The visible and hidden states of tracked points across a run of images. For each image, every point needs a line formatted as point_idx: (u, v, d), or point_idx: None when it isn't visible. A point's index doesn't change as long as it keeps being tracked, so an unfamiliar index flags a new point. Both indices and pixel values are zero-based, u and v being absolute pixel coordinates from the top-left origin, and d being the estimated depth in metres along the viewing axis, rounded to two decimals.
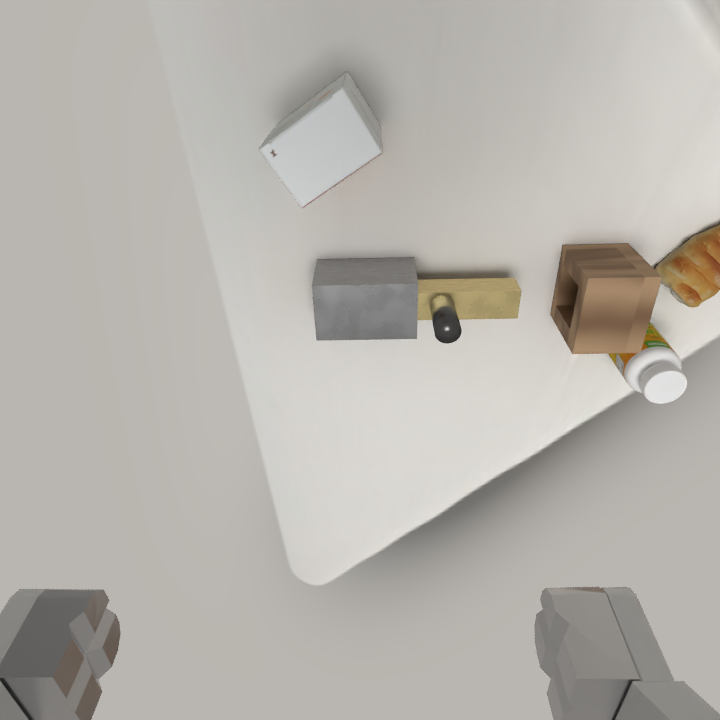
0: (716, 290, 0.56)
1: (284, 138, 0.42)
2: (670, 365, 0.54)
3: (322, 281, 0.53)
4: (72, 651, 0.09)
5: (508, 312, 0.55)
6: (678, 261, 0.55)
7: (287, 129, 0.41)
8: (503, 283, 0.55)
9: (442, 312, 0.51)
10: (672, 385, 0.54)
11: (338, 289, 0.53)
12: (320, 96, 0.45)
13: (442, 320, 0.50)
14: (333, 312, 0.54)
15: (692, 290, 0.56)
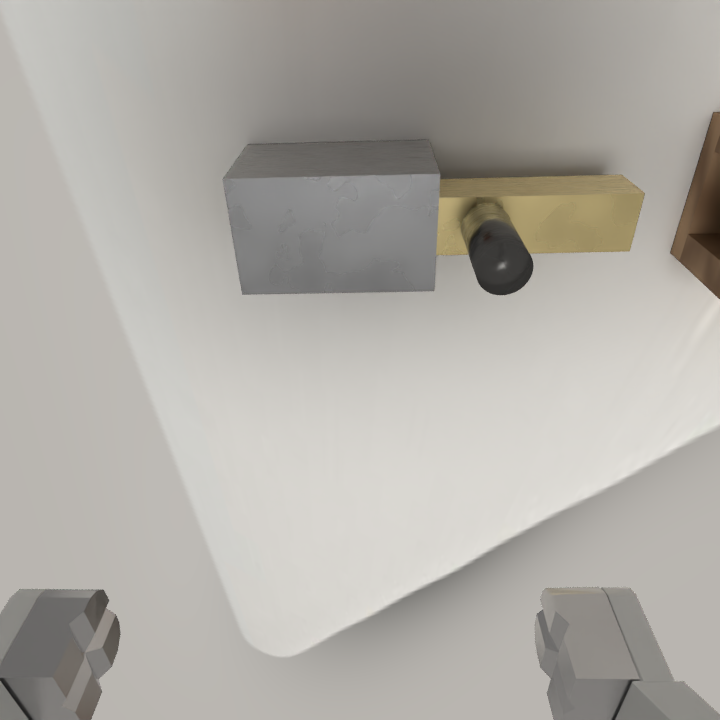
0: None
1: None
2: None
3: (245, 173, 0.26)
4: (72, 651, 0.09)
5: (613, 239, 0.28)
6: None
7: None
8: (604, 182, 0.28)
9: (491, 230, 0.25)
10: None
11: (277, 186, 0.26)
12: None
13: (494, 245, 0.23)
14: (270, 237, 0.27)
15: None
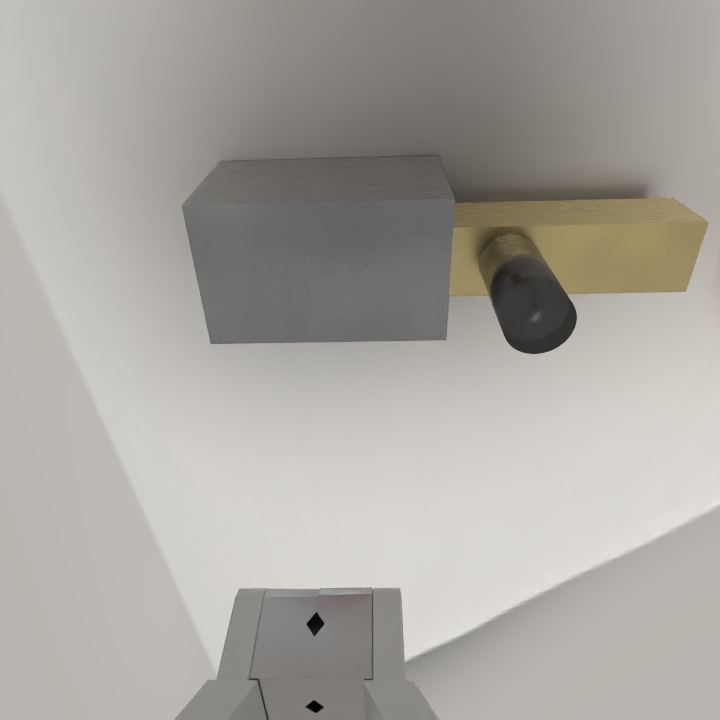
0: None
1: None
2: None
3: (211, 197, 0.21)
4: None
5: (666, 277, 0.23)
6: None
7: None
8: (654, 207, 0.23)
9: (521, 271, 0.19)
10: None
11: (250, 215, 0.21)
12: None
13: (528, 292, 0.18)
14: (243, 276, 0.22)
15: None
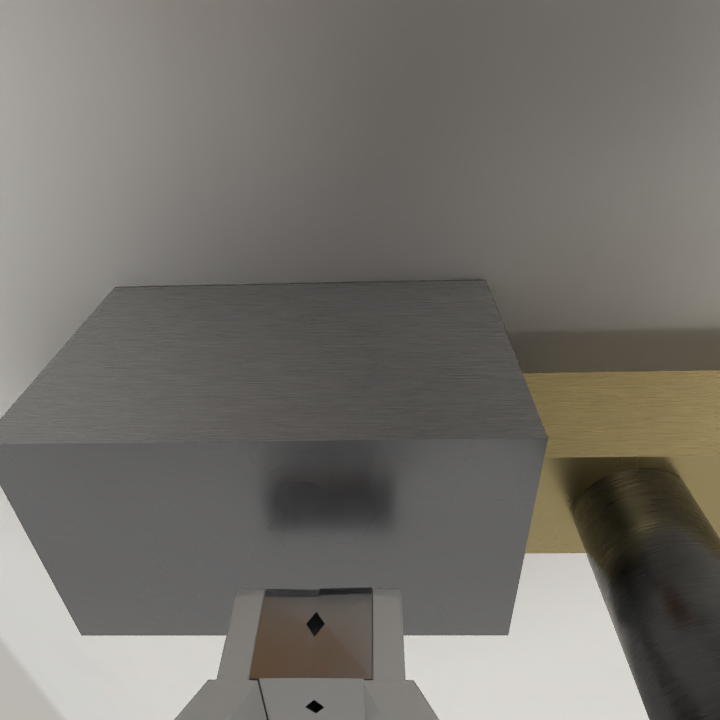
0: None
1: None
2: None
3: (50, 413, 0.11)
4: None
5: None
6: None
7: None
8: None
9: (706, 625, 0.09)
10: None
11: (122, 460, 0.10)
12: None
13: None
14: (125, 549, 0.11)
15: None
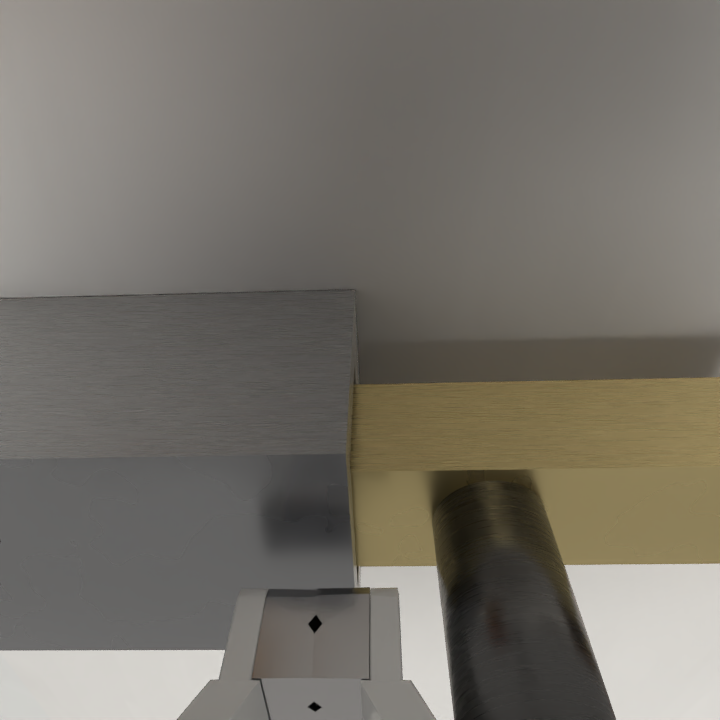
0: None
1: None
2: None
3: None
4: None
5: None
6: None
7: None
8: None
9: (509, 644, 0.09)
10: None
11: None
12: None
13: None
14: None
15: None
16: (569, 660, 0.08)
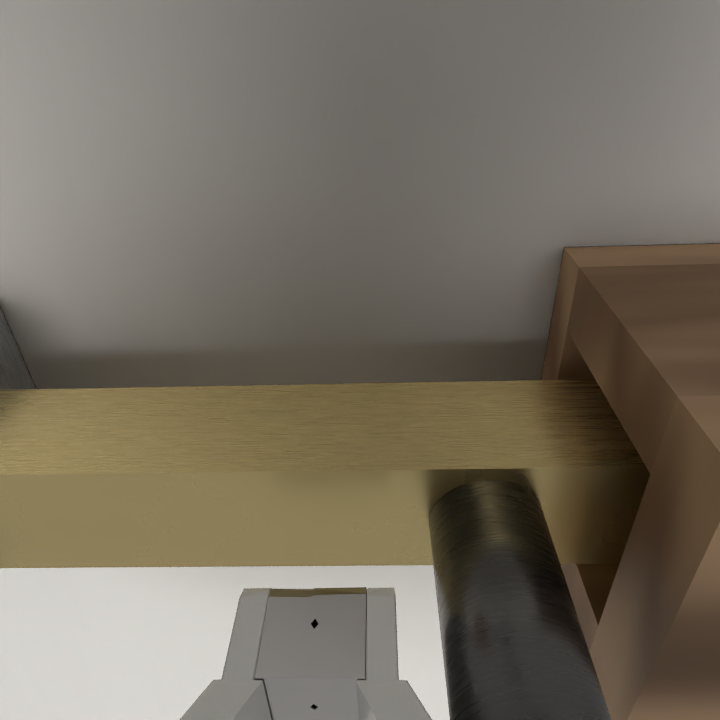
0: None
1: None
2: None
3: None
4: None
5: None
6: None
7: None
8: None
9: (504, 643, 0.09)
10: None
11: None
12: None
13: None
14: None
15: None
16: (564, 659, 0.08)
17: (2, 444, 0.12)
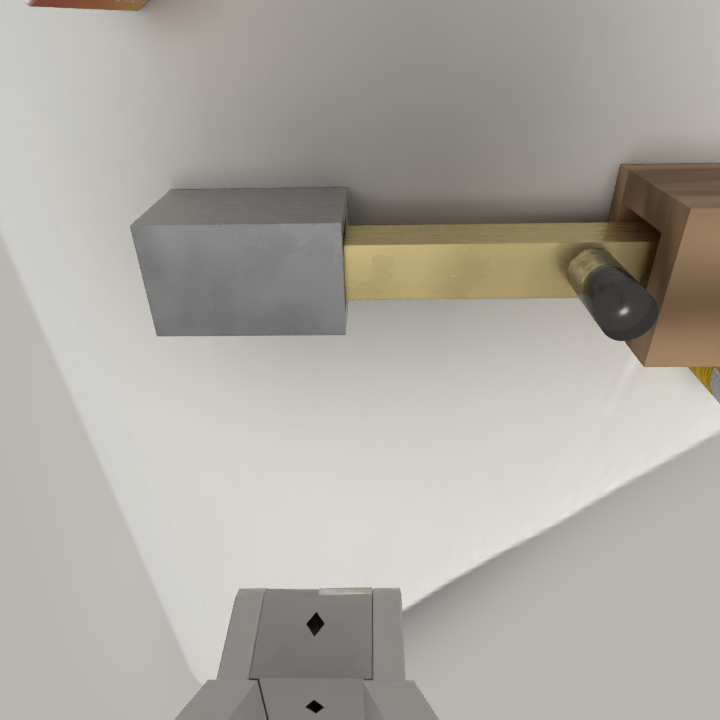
0: None
1: None
2: None
3: (154, 219, 0.27)
4: None
5: None
6: None
7: None
8: None
9: (612, 277, 0.25)
10: None
11: (183, 233, 0.27)
12: None
13: (622, 292, 0.24)
14: (180, 281, 0.28)
15: None
16: (633, 280, 0.25)
17: (383, 238, 0.29)
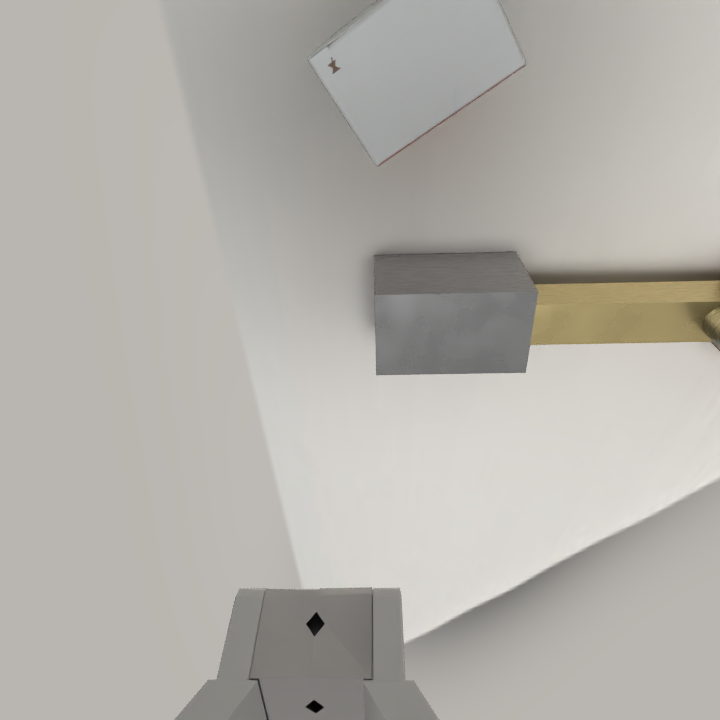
0: None
1: (354, 37, 0.23)
2: None
3: (388, 288, 0.35)
4: None
5: None
6: None
7: (360, 20, 0.23)
8: None
9: None
10: None
11: (414, 300, 0.35)
12: None
13: None
14: (404, 334, 0.36)
15: None
16: None
17: (558, 297, 0.37)
